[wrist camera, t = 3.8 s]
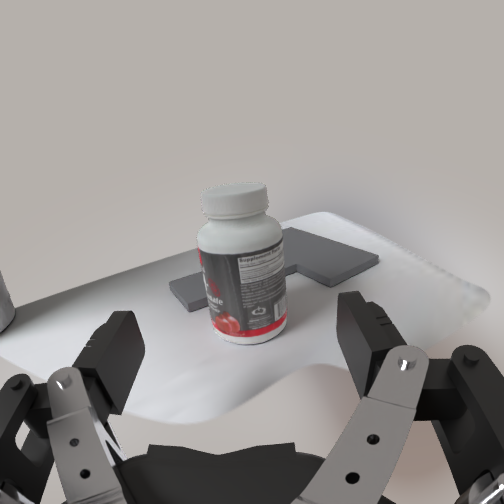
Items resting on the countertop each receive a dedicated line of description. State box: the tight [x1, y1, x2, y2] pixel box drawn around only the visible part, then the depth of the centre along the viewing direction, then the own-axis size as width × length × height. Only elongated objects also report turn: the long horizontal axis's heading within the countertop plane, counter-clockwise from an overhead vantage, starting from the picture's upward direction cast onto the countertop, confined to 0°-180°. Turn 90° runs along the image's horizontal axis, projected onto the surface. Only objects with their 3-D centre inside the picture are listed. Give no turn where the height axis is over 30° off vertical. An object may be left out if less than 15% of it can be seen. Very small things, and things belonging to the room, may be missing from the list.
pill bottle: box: [197, 182, 287, 345], centre depth 20 cm, size 5×5×10 cm
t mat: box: [169, 227, 379, 312], centre depth 30 cm, size 18×14×1 cm
